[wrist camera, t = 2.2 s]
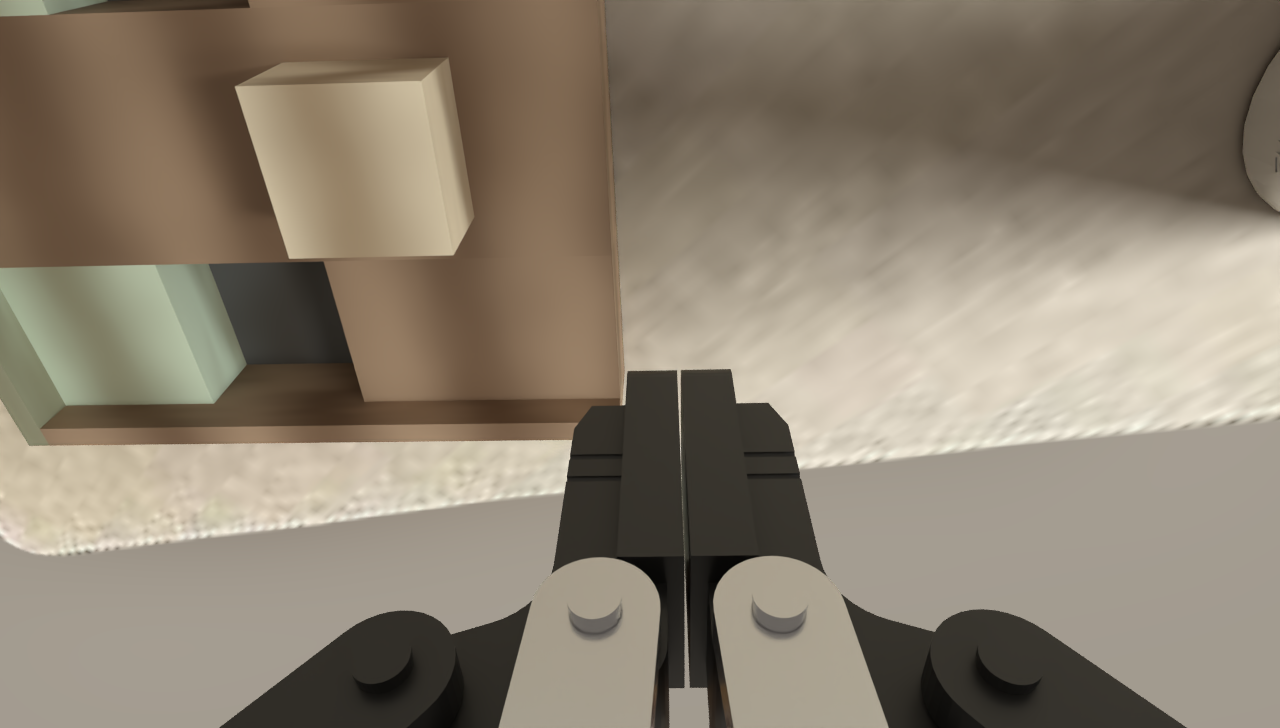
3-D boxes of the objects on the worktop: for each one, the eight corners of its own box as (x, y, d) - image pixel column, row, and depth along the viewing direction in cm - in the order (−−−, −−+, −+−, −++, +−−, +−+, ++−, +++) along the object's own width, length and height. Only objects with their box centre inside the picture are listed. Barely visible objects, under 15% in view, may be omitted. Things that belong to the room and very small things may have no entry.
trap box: (588, -301, 20) (571, -342, 16) (624, 372, 32) (619, 439, 28) (-229, -261, 21) (-425, -291, 17) (102, 379, 33) (29, 445, 29)
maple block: (448, 57, 22) (421, 80, 20) (474, 216, 25) (453, 255, 22) (282, 62, 22) (234, 86, 20) (326, 220, 25) (289, 258, 23)
